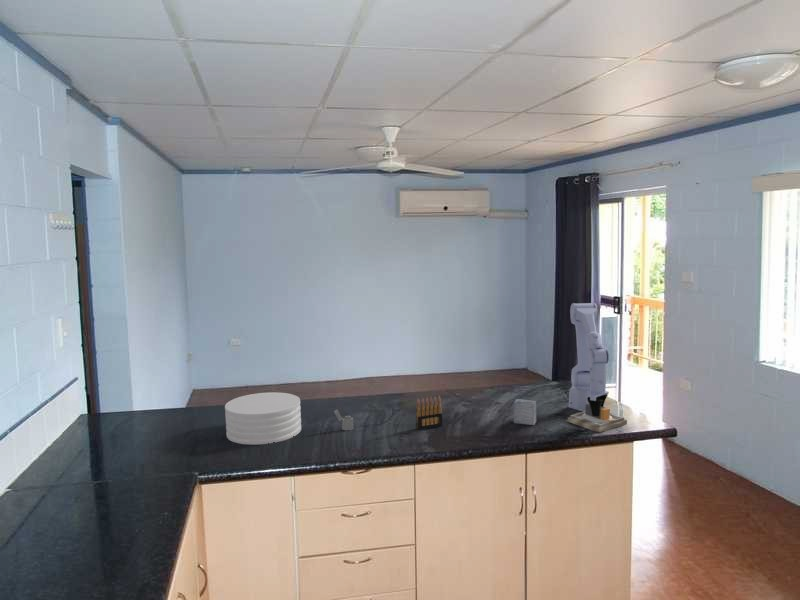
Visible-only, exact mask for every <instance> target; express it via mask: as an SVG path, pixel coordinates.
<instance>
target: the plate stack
mask: <svg viewBox="0 0 800 600" xmlns="http://www.w3.org/2000/svg"><path fill="white" fill-rule="evenodd" d="M224 411H225V413H224V414H225V430H226V432H225V433H226V439H228V440H229V441H231V442H233V443H235V444H236V443H237V444H240V445H241V444H242V445H266V444H267V445H268V443H269V444H274V443H273V442H275V443H279V442H283V441H287V440H289V439H292V438H294V437H295V436H297V435H298V434H299V433H300V432H301V431H302V417H301V415H302V412H301V398H300V397H299V396H297V395H295V394H292V393H287V392H275V391H274V392H257V393H251V394H246V395H241V396H238V397H236V398H233V399H231V400H228V402H226V404H225V405H224ZM293 436H294V437H293Z"/></svg>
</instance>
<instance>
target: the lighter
mask: <svg viewBox="0 0 800 600" xmlns="http://www.w3.org/2000/svg"><path fill="white" fill-rule="evenodd" d="M333 412H334V413H333V414H335V417H336V418H337V420H338V422H342V424H341V426H342V428H341V429H342V431H343V430H345V431H353V430H352V429H354V418H353V417H352V416H351V415H344V418H343V417H342V416H341V414H340V412H339V410H338V409H336V410H334V411H333Z"/></svg>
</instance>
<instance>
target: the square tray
mask: <svg viewBox="0 0 800 600" xmlns="http://www.w3.org/2000/svg"><path fill="white" fill-rule="evenodd" d="M584 413H585V411H584V412H582V411H580V412H577V413H574V414H570V417H567V422H568V423H571V424H573V425H577V426H579V427H582V428H585V429H589V430H591V431H595V432H597V433H603V432H605V431H608V430H609V431H610V430H612V429H615V428H618V427H621V426H625V425H627V424H628V419H625V417H624V416H619V415H616V414H614V413H610V416H612V420H610V421H608V422H605V423H602V424H598V423H595V422H592V421H589V420H588V419H585V418H582V415H583V414H584Z"/></svg>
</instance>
